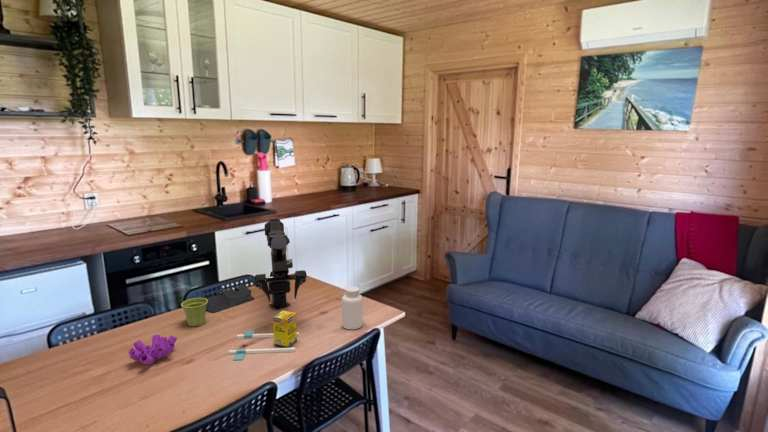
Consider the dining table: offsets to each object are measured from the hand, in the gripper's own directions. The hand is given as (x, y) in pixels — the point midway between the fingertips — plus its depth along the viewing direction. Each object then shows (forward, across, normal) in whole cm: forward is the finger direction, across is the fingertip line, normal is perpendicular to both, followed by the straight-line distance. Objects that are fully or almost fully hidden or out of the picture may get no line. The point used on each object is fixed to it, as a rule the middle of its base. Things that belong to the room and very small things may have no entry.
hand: (282, 299), depth 155 cm
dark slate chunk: (-16, -22, +36) cm, 45 cm away
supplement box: (+15, 0, +4) cm, 16 cm away
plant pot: (-3, -32, +22) cm, 39 cm away
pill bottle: (+10, +26, +9) cm, 29 cm away
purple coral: (+13, -42, +6) cm, 45 cm away
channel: (+14, -7, +5) cm, 16 cm away
